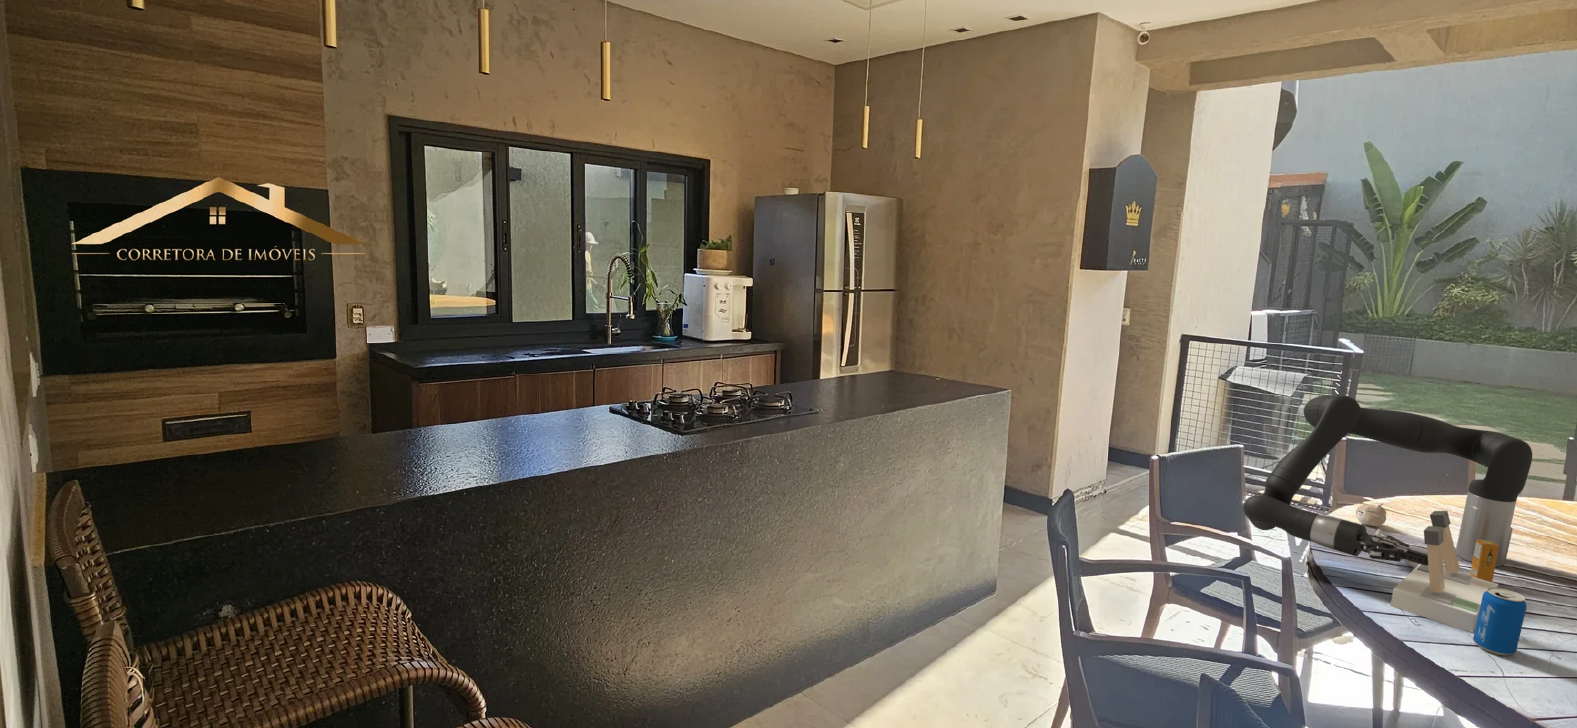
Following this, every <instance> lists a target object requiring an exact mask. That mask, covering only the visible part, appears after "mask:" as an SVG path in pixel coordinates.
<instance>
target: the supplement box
mask: <svg viewBox="0 0 1577 728" xmlns="http://www.w3.org/2000/svg"><path fill="white" fill-rule="evenodd" d="M1498 549H1499V545H1497V544H1496V543H1494V542H1492V541H1487V540H1478V539H1477V540H1476V544H1475V550H1474V555H1473V561H1472V562H1471V568H1470V572H1469V575H1471V576H1472V577H1476V578H1479V579H1482V580H1486V581H1489V582H1493V580H1494V574H1495V571H1496V566H1495V565H1496V560H1497V554H1498Z"/></svg>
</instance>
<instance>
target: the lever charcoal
mask: <svg viewBox="0 0 1577 728" xmlns="http://www.w3.org/2000/svg"><path fill="white" fill-rule="evenodd" d="M1448 511H1449V510H1434V511H1433V512H1431V513H1430V514H1429V517H1430V520H1431V521H1430V522H1431V526H1435V527H1443V537H1444V541H1443V542H1442V555H1443V566H1444V568H1445V569H1446V573H1457V572H1459V570H1460V569H1461V567H1460V563H1459V560H1458V556H1457V555H1456V548H1455V544H1454V540H1453V537H1452V533H1451V528H1450V525H1451V520H1450V516H1449V512H1448Z"/></svg>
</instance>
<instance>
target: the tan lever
mask: <svg viewBox="0 0 1577 728" xmlns="http://www.w3.org/2000/svg"><path fill="white" fill-rule="evenodd" d="M1423 538H1424V539H1423V541H1424V545H1426V550H1427V554H1428V566H1429V580H1430V591H1432V592H1439V593H1441V592H1442V591H1443V590H1444V589H1445V583H1444V569H1443V568H1444V561H1443V555H1442V542H1443V541H1444V537H1443V527H1435V526H1432V525H1428V526H1427V527H1426V528H1425V529H1424V530H1423Z"/></svg>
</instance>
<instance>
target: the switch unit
mask: <svg viewBox="0 0 1577 728" xmlns="http://www.w3.org/2000/svg"><path fill="white" fill-rule="evenodd" d="M1443 569H1444V583H1445V589H1444V590H1443V591H1442V592H1441V593H1439V592H1432V591H1430V580H1429V566H1428V565H1427V566H1425V565H1422V564H1419V565H1418V566H1417V567H1416V568H1413V569H1412V570H1411V572H1409V573H1408V574H1407V575H1406V576H1405V577H1404V578H1403V579H1402V580H1401V581H1400V582H1399V583H1398V584H1397V585H1396V586H1395V587H1394V588H1393V590H1392V596H1391V600H1390V601H1391V602H1390V607H1394V608H1397V609H1399V610H1403V611H1405V612H1408V611H1409V612H1408V613H1411V612H1413V613H1412V614H1414V613H1415V615H1417V614H1418V615H1417V616H1420V617H1424V618H1427V619H1430V620H1432V621H1436V622H1439V623H1441V624H1445V625H1448V626H1451V627H1454V628H1457V629H1460V630H1463V631H1465V632H1469V633H1473V632H1475V628H1476V623H1477V619H1478V614H1479V610H1480V605H1481V601H1482V596H1483V593H1484V592H1486V591H1487V588H1490V587H1496V588H1499V583H1496V582H1493V581H1492V582H1489V581H1486V580H1482V579H1479V578H1476V577H1472V576H1471V575H1470V574H1467V573H1464V572H1461V571H1458V572H1457V573H1446V569H1445V567H1443Z"/></svg>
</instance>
